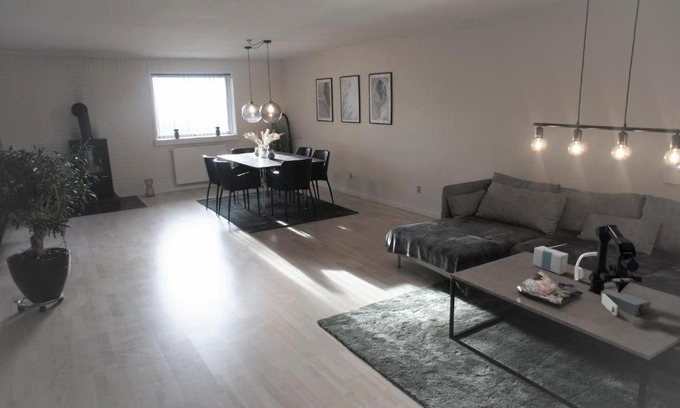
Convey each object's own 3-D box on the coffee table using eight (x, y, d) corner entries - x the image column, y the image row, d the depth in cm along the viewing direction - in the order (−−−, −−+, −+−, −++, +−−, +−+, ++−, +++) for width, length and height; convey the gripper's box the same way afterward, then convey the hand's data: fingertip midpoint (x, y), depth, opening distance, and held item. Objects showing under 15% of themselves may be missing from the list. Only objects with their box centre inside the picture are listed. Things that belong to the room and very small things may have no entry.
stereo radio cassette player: (532, 265, 314) (534, 237, 309) (540, 263, 318) (543, 235, 313) (559, 275, 296) (562, 246, 291) (567, 273, 300) (570, 243, 295)
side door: (598, 301, 257) (599, 292, 256) (602, 301, 257) (603, 292, 255) (612, 315, 240) (614, 306, 239) (616, 316, 240) (618, 306, 239)
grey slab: (599, 301, 258) (601, 289, 257) (614, 297, 263) (616, 286, 261) (636, 317, 239) (638, 304, 238) (652, 312, 244) (653, 300, 242)
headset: (578, 283, 284) (581, 255, 280) (570, 278, 291) (573, 251, 287) (606, 280, 288) (609, 252, 284) (598, 275, 294) (601, 249, 290)
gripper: (634, 260, 246) (630, 287, 250) (597, 258, 249) (594, 285, 252) (644, 267, 235) (640, 295, 239) (606, 266, 238) (602, 294, 241)
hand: (618, 292), depth 243 cm, fingers closed
